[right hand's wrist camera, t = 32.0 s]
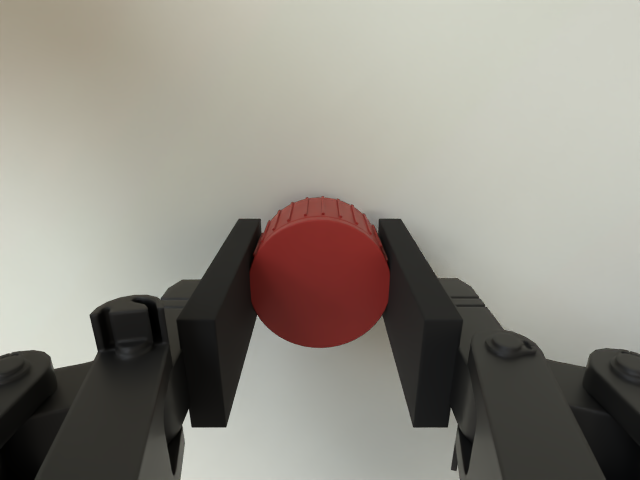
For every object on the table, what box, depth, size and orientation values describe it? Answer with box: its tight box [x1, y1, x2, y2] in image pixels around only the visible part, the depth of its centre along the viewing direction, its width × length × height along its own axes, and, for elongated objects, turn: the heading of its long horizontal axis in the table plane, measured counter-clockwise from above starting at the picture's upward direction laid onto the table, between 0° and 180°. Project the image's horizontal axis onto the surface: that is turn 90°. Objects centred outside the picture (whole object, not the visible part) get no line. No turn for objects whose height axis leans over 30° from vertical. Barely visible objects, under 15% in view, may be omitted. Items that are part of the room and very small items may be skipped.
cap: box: [250, 196, 390, 348], centre depth 13 cm, size 4×4×2 cm
